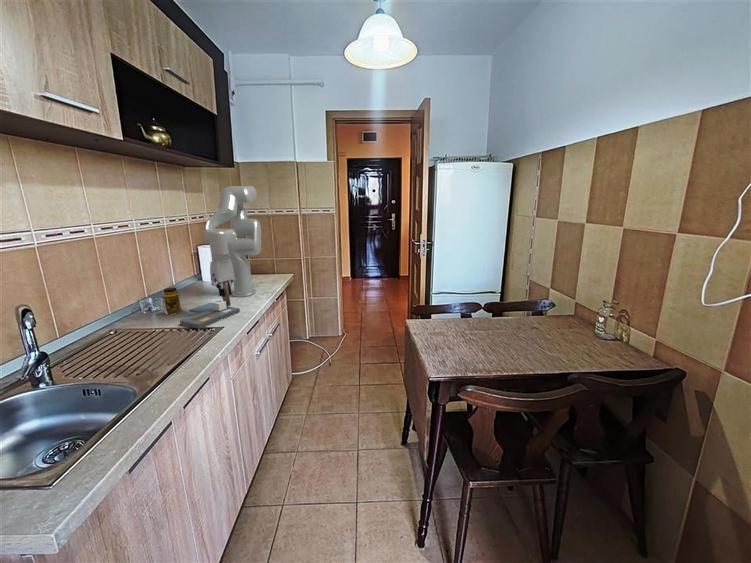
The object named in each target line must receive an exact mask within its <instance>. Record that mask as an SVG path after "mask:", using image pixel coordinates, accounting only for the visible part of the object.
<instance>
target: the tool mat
mask: <svg viewBox="0 0 751 563" xmlns="http://www.w3.org/2000/svg"><path fill="white" fill-rule="evenodd" d="M213 303H214V302H208V303H204V304H202V305H199V306H196V307H193V308H190V309H189V310H188V311H189V312H193V313H197V314H199V313H202V312H205V311H207V310H210V309H213Z"/></svg>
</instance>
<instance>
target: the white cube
mask: <svg viewBox="0 0 751 563" xmlns="http://www.w3.org/2000/svg"><path fill="white" fill-rule="evenodd" d="M212 303H213V309H214V310H217V311H221V310H224V309H227V307H226V301H223V300H218V301H215V302H212Z"/></svg>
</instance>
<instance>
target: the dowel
mask: <svg viewBox="0 0 751 563" xmlns="http://www.w3.org/2000/svg"><path fill="white" fill-rule="evenodd" d="M223 288H224V289H225V297H222V301H226V306H228V307H231V298H230V297H231V296H230V295H229V289H228V282H227V281H225V282H223Z"/></svg>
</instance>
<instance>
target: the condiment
mask: <svg viewBox="0 0 751 563" xmlns="http://www.w3.org/2000/svg"><path fill="white" fill-rule="evenodd" d="M179 295H180V294H179V292H178V290H177V287H174V286H173V287H172V286H171V287H166V288H164V289H163V299H164V304H165V309H166V310H165V311H167V313H168V314H174V315H176V314H175V313H178V314H180V313H179V312H181V310H183V312H181V313H184V312H186V310H184V309H182V306H181V301H180V296H179Z"/></svg>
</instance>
